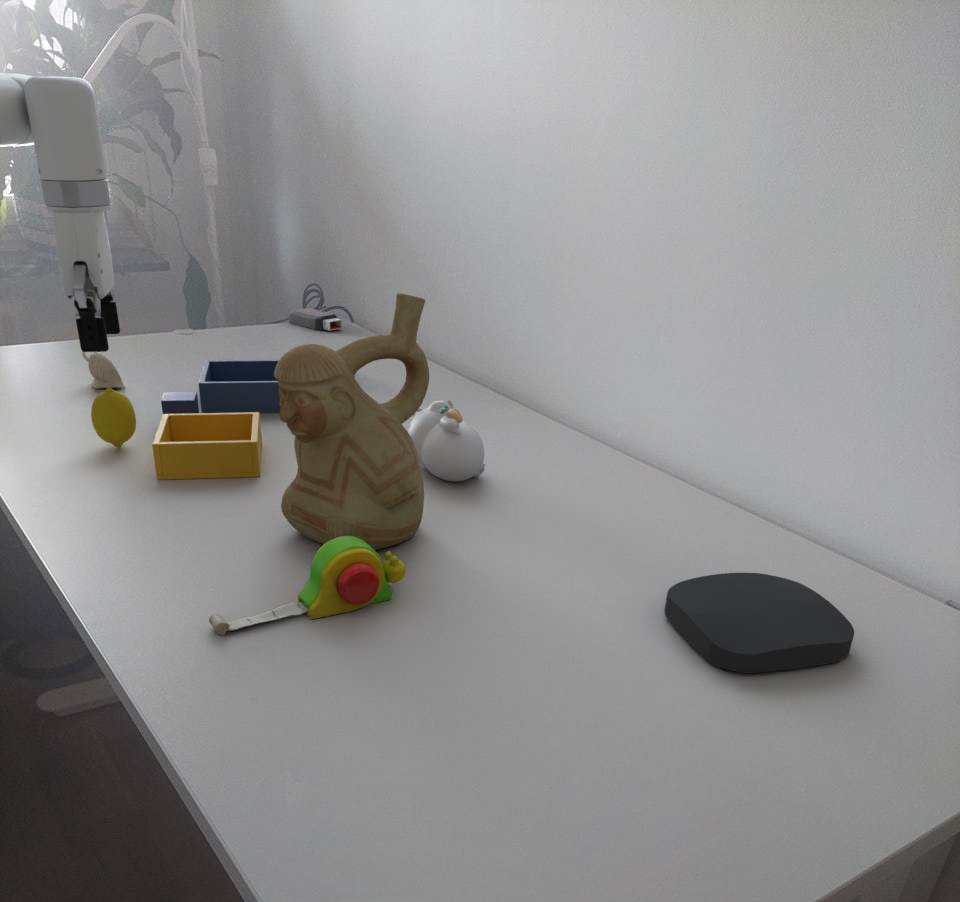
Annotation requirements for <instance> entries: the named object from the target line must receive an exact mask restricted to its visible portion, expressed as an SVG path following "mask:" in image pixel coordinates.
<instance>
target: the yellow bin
mask: <svg viewBox="0 0 960 902" xmlns="http://www.w3.org/2000/svg"><path fill="white" fill-rule="evenodd" d="M260 414H261V413H259V412H254V413H253V412H245V413H202V412H199V413H188V414H163V413H162V416H161V418H160V422H159V424H158V427H157V430H156V433H155V436H154V438H153V441H152V444H151V446H152V452H153V454H152V455H153V460H154V461H153V462H154V468H155V476H156V480H158V481H162V480H164V481H165V480H193V479H195V480H197V479H228V478H229V479H231V478H260V477H261V469H262V451H263V441H262V429H261V427H262V425H261V416H260Z"/></svg>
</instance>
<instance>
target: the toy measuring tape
mask: <svg viewBox="0 0 960 902" xmlns="http://www.w3.org/2000/svg"><path fill="white" fill-rule="evenodd" d="M384 558H385V561H384V562H383V560H382V557H381V556H380V554H379V553H378V552H377V551H376V550H373V549H372V548H371V547H370V546H369V545H368V544H367V543H366V542H364V541H363V540H361V539H359V538H357V537H353V536H342V537H337V538H335V539H332V540H330V541H328V542H327V543H325V544H322V545H321V547H319V549H318V550H317V551H316V553H315V554H314V557H313V559H312V561H311V565H310V571H309V577H308V580H307V582H306V583H305V585H304V587H303V588H302V589H301V590H300V591H299V592H298V594H297V602H290V603H285V604H284V605H281V606H278V607H276V608H273V609H272V610H269V611H266V612H262V613H259V614H256V615H253V616H249V617H242V618H237V619H235V620H232V621H228V620H227V618H226V617H225V615H223V614H222V613H216V612H215V613H212V614H211V615H210V616H209V617H208V622H209V623H210V625H211V627H212V628H213V630H214V632H215V633H216V634H218V635H220V636H225V635H226V633H227V632H228V631H231V632H232V631H237V630H239V629H240V630H241V629H243V628H247V627H251V626H254V625H259V624H263V623H268V622H273V621H277V620H278V621H279V620H281V619H284V618H287V617H294V616H296V617H297V616H302V615H303V614H305V613H306V615H307V617H308V618H309V619H311V620H316V619H321V618H325V617H329V616H334V615H339V614H343V613H347V612H352V611H355V610H358V609H361V608H364V607H365V606H367V605H372V604H376V603H381V602H385V601H389V600H392V598H393V591H392V589H391V587H390V586H389V584H397V583H399V582H400V581H402V580H403V579H404V578H405V576H406V573H407V572H406V571H407V568H406V564H405V563H404V562H403V561H402V560H401V559H400V558H398V557H397V556H396V555H394V553H393V551H390V550H387V551H386V552H385V553H384Z"/></svg>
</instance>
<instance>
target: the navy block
mask: <svg viewBox="0 0 960 902" xmlns="http://www.w3.org/2000/svg"><path fill="white" fill-rule="evenodd" d="M160 404H161V412H162V415H163V414H188V413H200V408H199V400H198V392H197V391H164V392H163V395H162V397H161V400H160Z"/></svg>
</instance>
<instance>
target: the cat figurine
mask: <svg viewBox="0 0 960 902" xmlns="http://www.w3.org/2000/svg"><path fill="white" fill-rule="evenodd" d="M412 417H413V418H412V420H411V421H410V424H409V426H408V430H407V432H408V433H409V435H410V436H411V438H412V440H413V442H414V445H415V447H416V450H417V453H418V457H419V461H420V465H421V466H423V467H425V468H426V469H427V470H428V472H430V473H431V474H432V475H434V476H436V477H437V478H439V479H441V480H443V481H448V482H454V483H455V482H457V483H458V482H464V481H467V480H469V479H471V478H479V476H481V475H482V474H483V473H484V472H485V469H486V468H485V466H486V464H485V463H484V461H485V446H484V444H483V440H482V438H481V436H480V435H479V433H478V431H477V430H476V428H474V426H472V425H470V424H469V423H467V422H466V421H464V419H463V416H462V414H461V412H460V411H459V410H458V409H457V408H454V404H453V403H452V401H451V400H450V399H448V400H447V401H445V400H443V399H441V400H434V401H433V402H431V403H430V404H429V406H428V407H421V406H420V407H419V409H418V410H417V411H416V413H415V414H413V415H412Z"/></svg>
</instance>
